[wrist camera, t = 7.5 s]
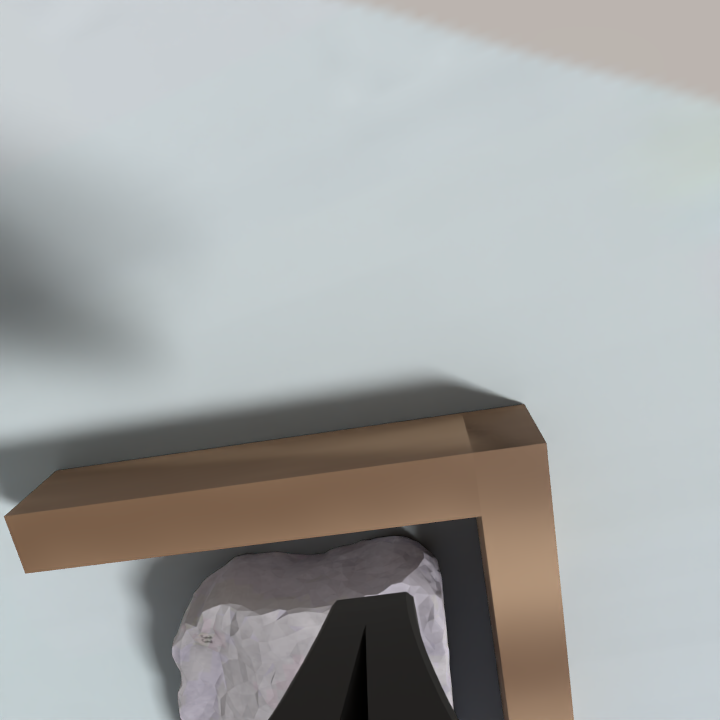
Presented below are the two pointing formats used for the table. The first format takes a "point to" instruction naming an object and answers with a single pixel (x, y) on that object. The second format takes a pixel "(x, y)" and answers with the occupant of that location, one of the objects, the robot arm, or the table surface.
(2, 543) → the table surface
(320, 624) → the stone block
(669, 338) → the table surface
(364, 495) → the dock
